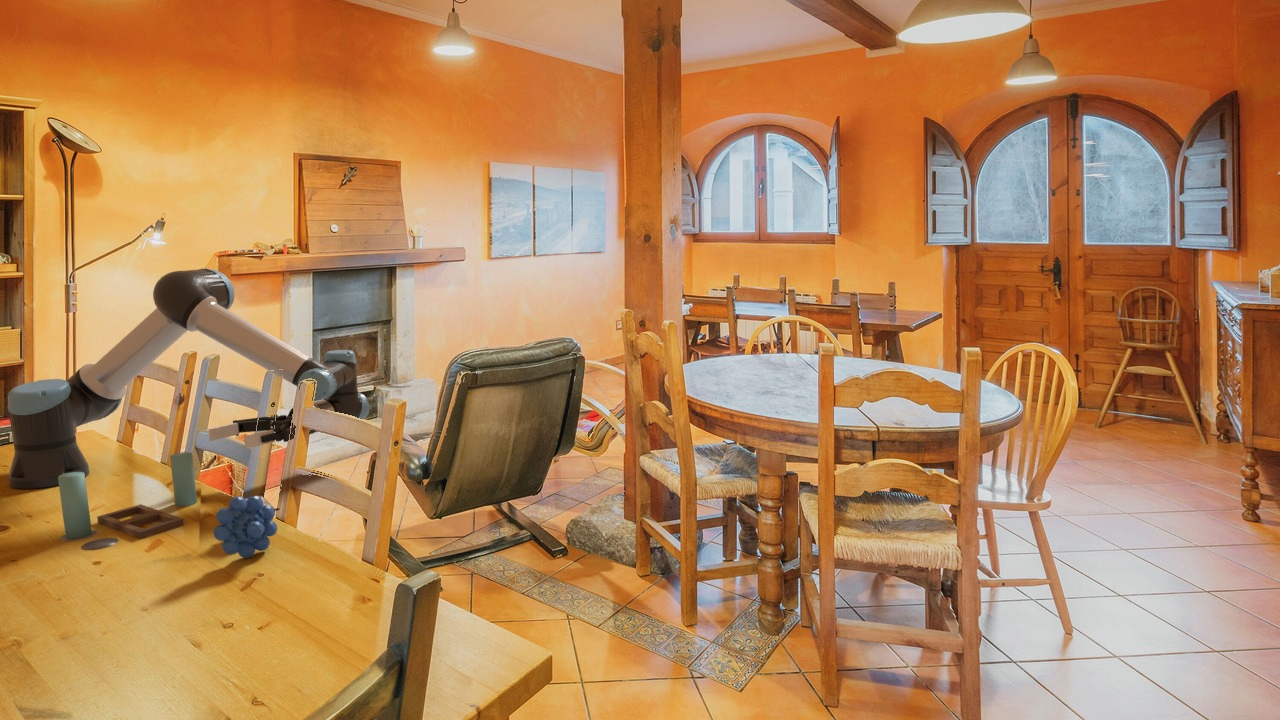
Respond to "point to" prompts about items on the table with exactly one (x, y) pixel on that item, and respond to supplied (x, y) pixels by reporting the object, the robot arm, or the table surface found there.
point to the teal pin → (183, 479)
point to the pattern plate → (94, 542)
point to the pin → (75, 505)
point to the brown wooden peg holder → (140, 521)
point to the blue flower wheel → (245, 526)
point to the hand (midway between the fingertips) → (227, 438)
